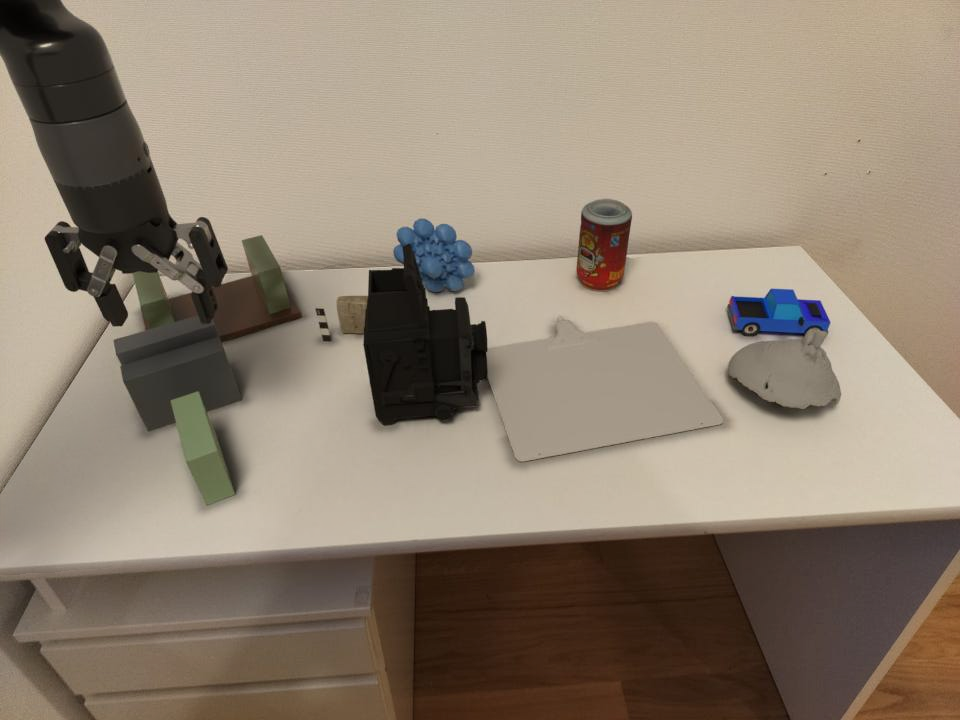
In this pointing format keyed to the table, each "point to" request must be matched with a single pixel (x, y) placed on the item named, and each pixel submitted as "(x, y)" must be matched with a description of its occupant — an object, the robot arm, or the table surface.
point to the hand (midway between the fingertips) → (165, 320)
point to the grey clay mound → (788, 371)
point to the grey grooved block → (175, 369)
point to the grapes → (436, 254)
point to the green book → (202, 448)
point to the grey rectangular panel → (594, 390)
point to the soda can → (603, 244)
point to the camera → (419, 348)
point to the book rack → (227, 297)
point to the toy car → (777, 313)
